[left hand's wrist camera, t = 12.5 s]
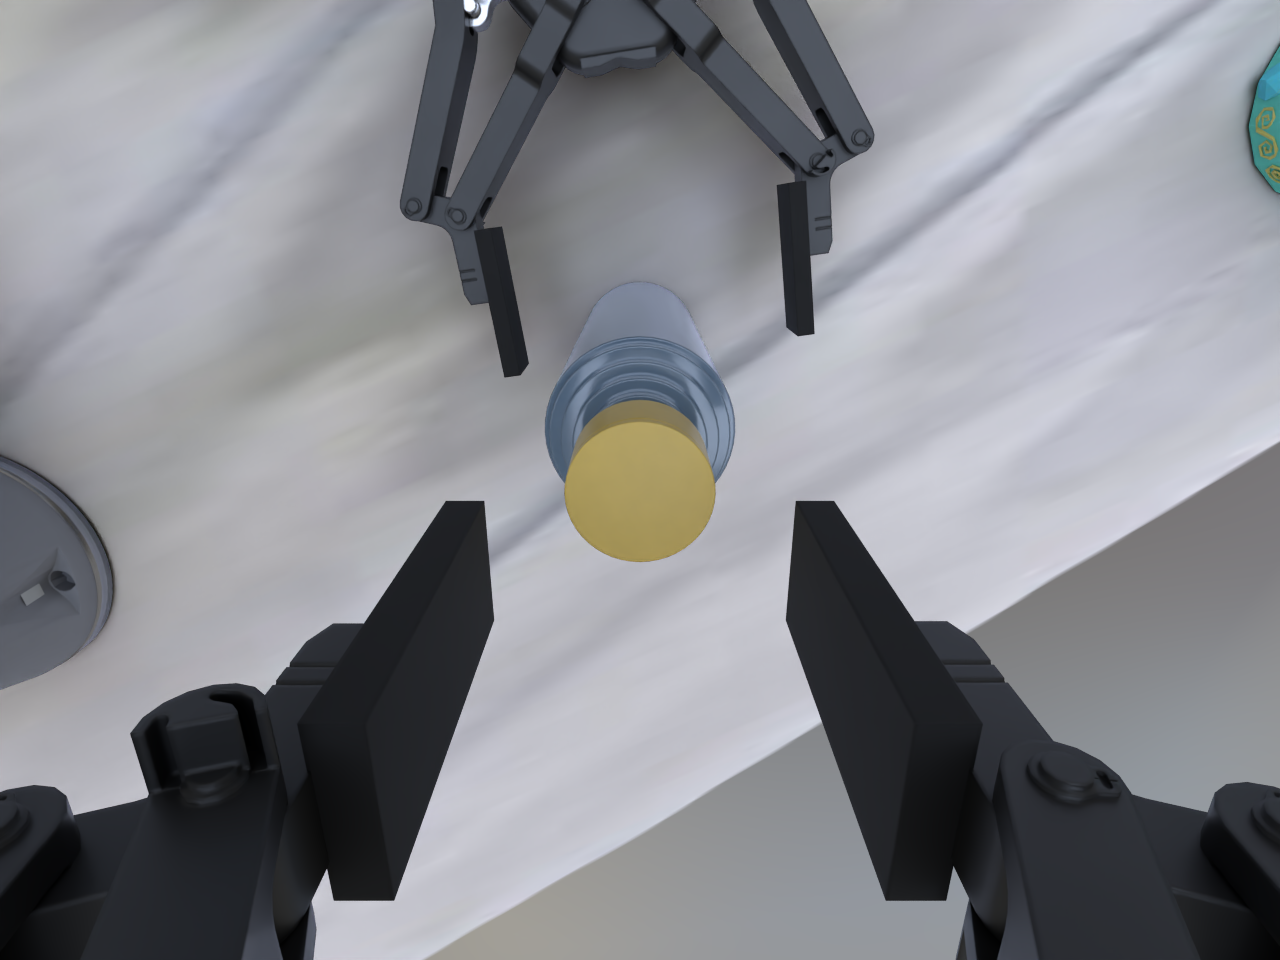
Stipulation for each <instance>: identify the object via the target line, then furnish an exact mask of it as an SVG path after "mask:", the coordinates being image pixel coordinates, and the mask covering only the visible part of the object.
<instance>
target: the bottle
mask: <svg viewBox="0 0 1280 960" xmlns="http://www.w3.org/2000/svg"><path fill="white" fill-rule="evenodd" d="M631 400H649V401H654V402H659V403H662V404H665V405H668V406H670V407H672V408H674V409H676V410H677V411H679V412H680V413H682V414H683V415H684V416H685V417H687V418H688V419H689V420H690V421H691V422H692V423H693V425H694V426H695V427H696V428H697V430H698V431H699V433H700V435H701V437H702V439H703V441H704V444H705V447H706V450H707V454H708V457H709V461H710V464H711V468H712V472H713V475H714V481H715V483H716V482H717V480H718V479H719V478H720V476H721V475H722V473H723V471H724V469H725V468H726V466H727V463H728V461H729V458H730V456H731V452H732V448H733V445H734V437H735V418H734V411H733V407H732V403H731V400H730V397H729V394H728V392H727V390H726V388H725V386H724V384H723V381H722V379H721V377H720V375H719V373H718V371H717V369H716V367H715V365H714V363H713V361H712V359H711V357H710V355H709V353H708V350H707V348H706V346H705V344H704V342H703V340H702V338H701V336H700V334H699V332H698V330H697V328H696V326H695V324H694V321H693V319H692V317H691V315H690V313H689V311H688V309H687V308H686V306H685V305H684V303H683V302H682V301H681V300H680V299H679V298H678V297H677V296H676V295H675V294H674V293H672V292H671V291H669V290H668V289H666V288H664V287H662V286H659V285H657V284H653V283H648V282H632V283H627V284H623V285H621V286H618V287H616V288H614V289H612V290H611V291H609V292H608V293H606V294H605V295H604V296H603V297H602V298H601V299H600V300H599V301H598V302H597V303H596V305H595V306H594V308H593V309H592V311H591V313H590V315H589V317H588V319H587V321H586V324H585V326H584V328H583V330H582V332H581V334H580V336H579V338H578V340H577V342H576V344H575V346H574V348H573V350H572V353H571V355H570V357H569V359H568V361H567V363H566V365H565V367H564V369H563V371H562V373H561V375H560V377H559V379H558V381H557V384H556V386H555V388H554V390H553V392H552V394H551V397H550V400H549V403H548V406H547V411H546V418H545V437H546V445H547V448H548V452H549V456H550V458H551V461H552V463H553V466H554V468H555V469H556V471H557V473H558V475H559V476H560V478H561V479H562V480H563V482H564V483H565V481H566V475H567V472H568V468H569V464H570V461H571V457H572V454H573V450H574V447H575V444H576V441H577V439H578V437H579V435H580V433H581V431H582V430H583V428H584V427H585V426H586V425H587V423H588V422H589V421H590V420H591V419H592V418H593V417H595V416H596V415H597V414H598V413H600V412H601V411H603V410H604V409H606V408H608V407H610V406H612V405H615V404H618V403H621V402H626V401H631Z"/></svg>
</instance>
